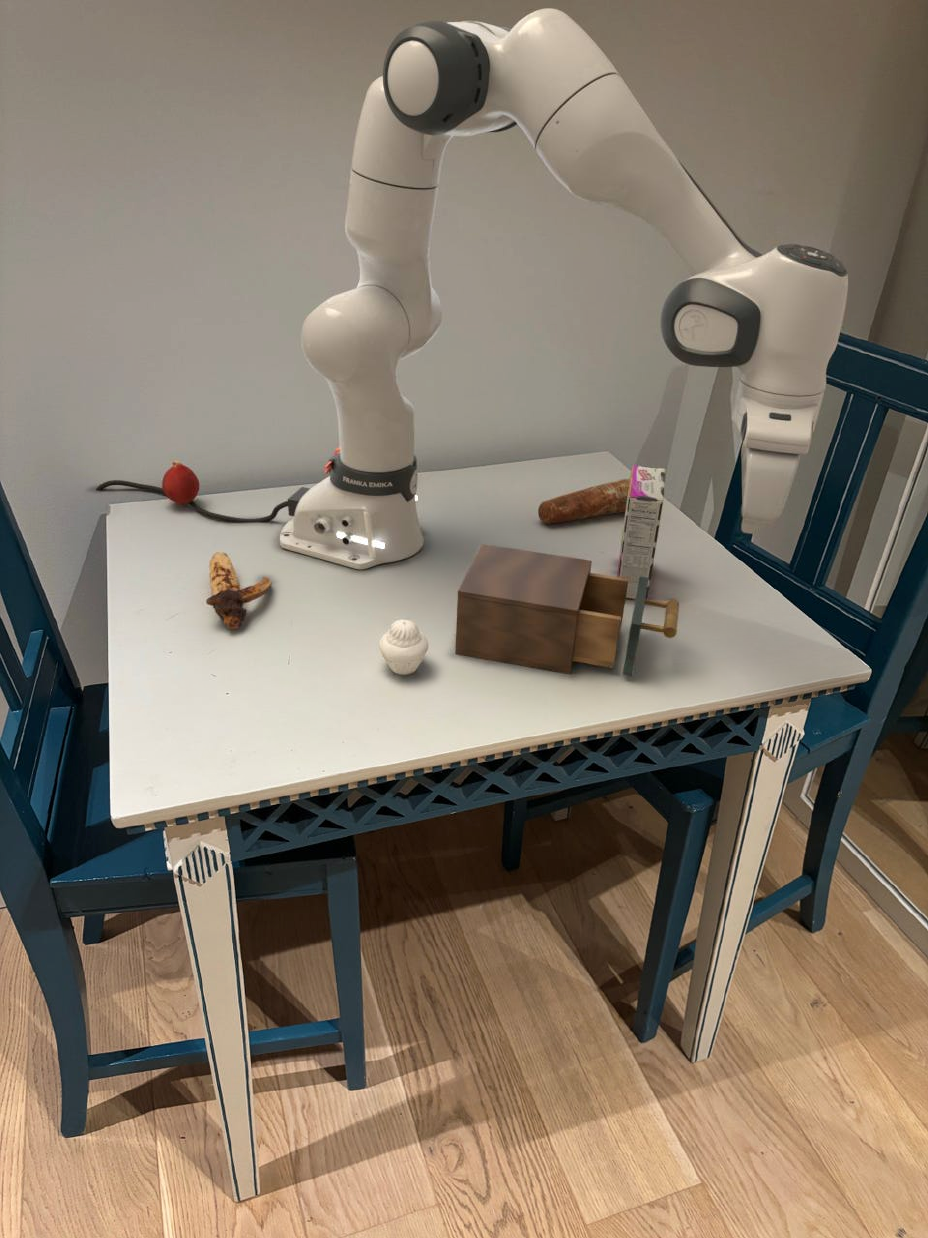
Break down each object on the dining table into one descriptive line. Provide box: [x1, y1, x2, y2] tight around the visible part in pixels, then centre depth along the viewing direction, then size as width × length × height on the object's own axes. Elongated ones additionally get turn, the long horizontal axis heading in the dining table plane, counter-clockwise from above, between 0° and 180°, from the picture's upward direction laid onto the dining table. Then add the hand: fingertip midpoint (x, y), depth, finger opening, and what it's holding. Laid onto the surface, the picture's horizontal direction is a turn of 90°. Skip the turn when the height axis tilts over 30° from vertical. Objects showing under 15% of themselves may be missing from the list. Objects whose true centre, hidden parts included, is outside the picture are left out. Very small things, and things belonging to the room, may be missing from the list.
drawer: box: [572, 571, 680, 677], centre depth 115 cm, size 18×12×8 cm, turn 76°
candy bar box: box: [616, 465, 666, 601], centre depth 129 cm, size 11×5×16 cm, turn 168°
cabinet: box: [454, 543, 593, 675], centre depth 117 cm, size 15×13×10 cm
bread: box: [537, 477, 631, 525], centre depth 151 cm, size 6×19×6 cm, turn 113°
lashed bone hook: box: [205, 551, 272, 630], centre depth 124 cm, size 9×5×18 cm
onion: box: [161, 460, 200, 507], centre depth 147 cm, size 6×6×8 cm
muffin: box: [378, 618, 429, 676], centre depth 111 cm, size 6×6×7 cm
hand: (748, 523), depth 104 cm, fingers closed
